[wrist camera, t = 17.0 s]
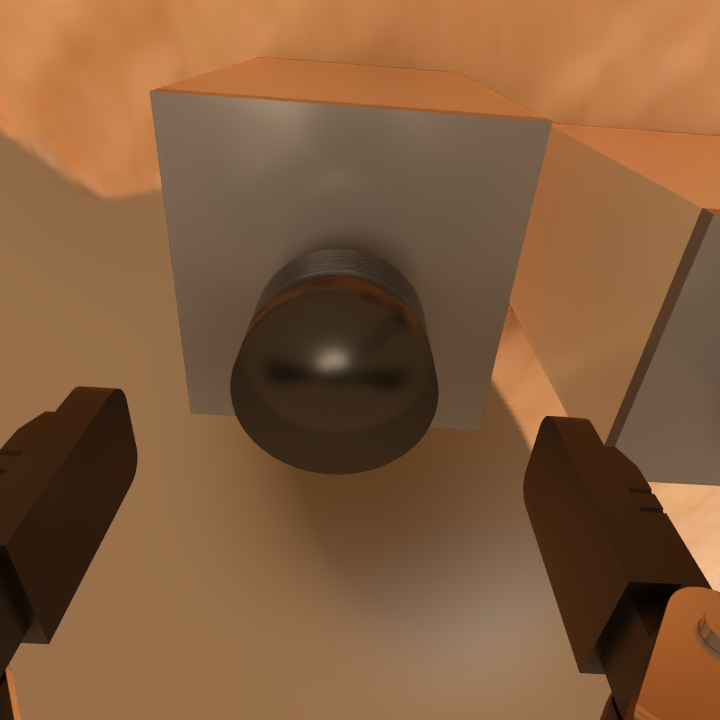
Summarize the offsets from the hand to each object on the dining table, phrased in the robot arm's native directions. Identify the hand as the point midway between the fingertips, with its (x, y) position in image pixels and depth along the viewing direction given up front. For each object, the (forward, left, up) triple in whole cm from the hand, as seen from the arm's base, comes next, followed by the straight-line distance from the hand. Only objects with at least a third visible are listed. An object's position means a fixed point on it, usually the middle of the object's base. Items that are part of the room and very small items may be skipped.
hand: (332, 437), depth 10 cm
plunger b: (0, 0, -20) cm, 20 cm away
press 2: (-15, +2, -23) cm, 27 cm away
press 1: (0, 0, -23) cm, 23 cm away
